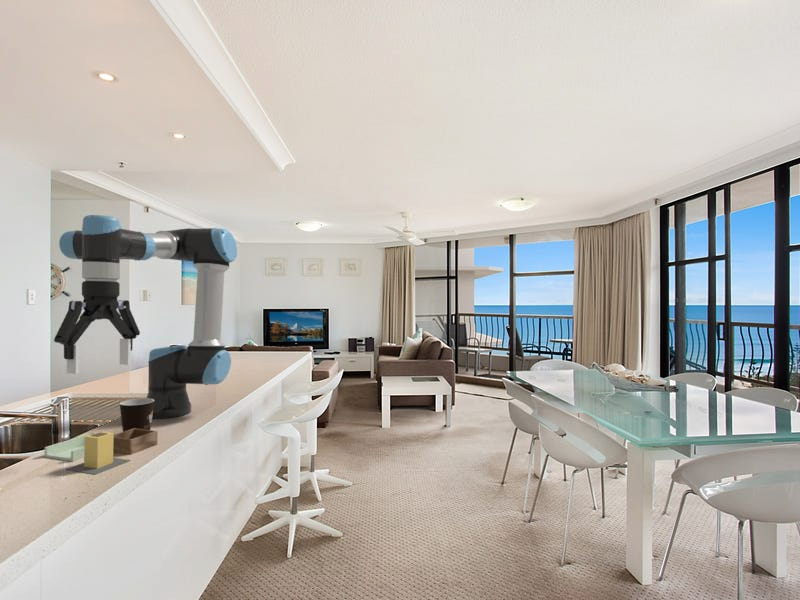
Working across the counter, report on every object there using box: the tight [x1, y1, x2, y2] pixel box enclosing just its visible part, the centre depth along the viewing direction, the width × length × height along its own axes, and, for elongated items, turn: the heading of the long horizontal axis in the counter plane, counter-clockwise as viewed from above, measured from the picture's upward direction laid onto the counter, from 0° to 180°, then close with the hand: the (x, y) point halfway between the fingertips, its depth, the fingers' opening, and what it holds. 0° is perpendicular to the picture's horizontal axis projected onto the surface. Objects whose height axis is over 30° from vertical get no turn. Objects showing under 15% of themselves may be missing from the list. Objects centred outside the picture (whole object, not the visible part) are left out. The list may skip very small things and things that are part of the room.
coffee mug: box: [119, 398, 155, 432], centre depth 127 cm, size 12×9×10 cm
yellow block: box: [83, 431, 115, 469], centre depth 103 cm, size 4×4×7 cm
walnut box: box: [113, 428, 158, 455], centre depth 116 cm, size 8×8×4 cm
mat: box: [65, 457, 131, 476], centre depth 103 cm, size 9×9×1 cm
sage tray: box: [44, 432, 96, 463], centre depth 112 cm, size 12×9×3 cm
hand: (100, 368), depth 106 cm, fingers open, 13 cm apart
